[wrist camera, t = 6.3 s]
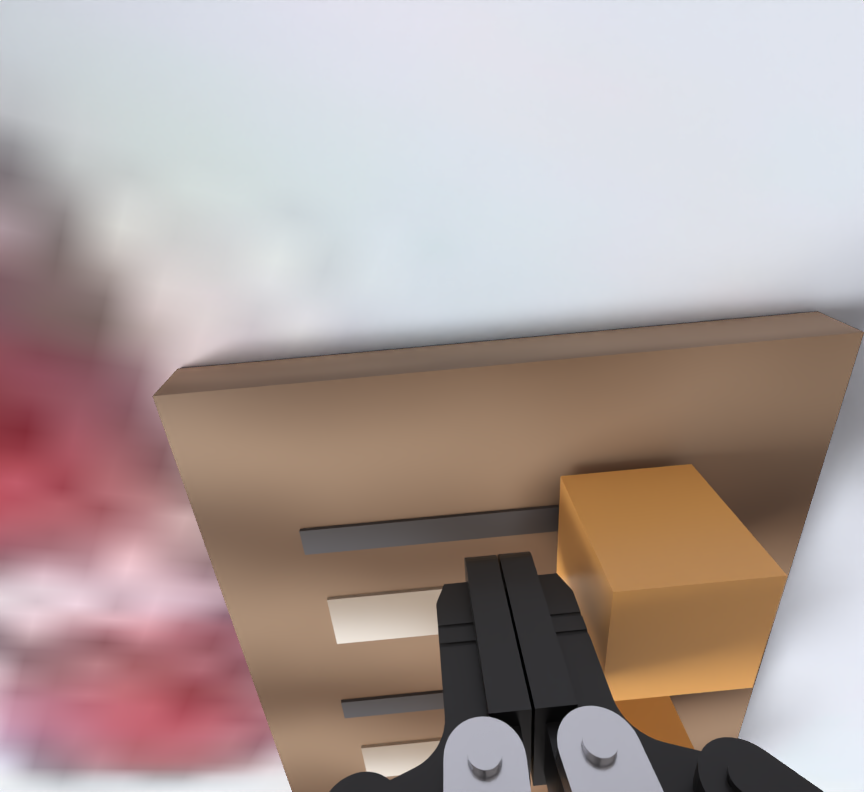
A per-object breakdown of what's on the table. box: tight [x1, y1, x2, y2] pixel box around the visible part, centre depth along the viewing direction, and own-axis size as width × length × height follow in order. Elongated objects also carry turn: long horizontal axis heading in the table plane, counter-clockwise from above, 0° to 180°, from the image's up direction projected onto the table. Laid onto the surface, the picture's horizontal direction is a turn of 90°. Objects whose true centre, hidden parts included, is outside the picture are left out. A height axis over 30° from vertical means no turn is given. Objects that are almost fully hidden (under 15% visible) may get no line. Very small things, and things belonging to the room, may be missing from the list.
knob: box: [556, 464, 787, 701], centre depth 12 cm, size 3×3×4 cm
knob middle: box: [615, 696, 694, 749], centre depth 15 cm, size 3×3×4 cm
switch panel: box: [153, 311, 864, 792], centre depth 18 cm, size 23×16×2 cm
